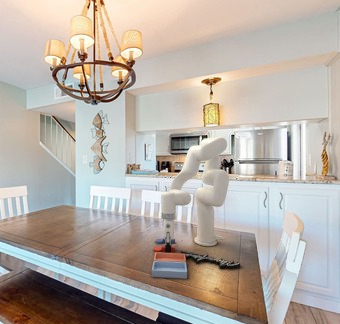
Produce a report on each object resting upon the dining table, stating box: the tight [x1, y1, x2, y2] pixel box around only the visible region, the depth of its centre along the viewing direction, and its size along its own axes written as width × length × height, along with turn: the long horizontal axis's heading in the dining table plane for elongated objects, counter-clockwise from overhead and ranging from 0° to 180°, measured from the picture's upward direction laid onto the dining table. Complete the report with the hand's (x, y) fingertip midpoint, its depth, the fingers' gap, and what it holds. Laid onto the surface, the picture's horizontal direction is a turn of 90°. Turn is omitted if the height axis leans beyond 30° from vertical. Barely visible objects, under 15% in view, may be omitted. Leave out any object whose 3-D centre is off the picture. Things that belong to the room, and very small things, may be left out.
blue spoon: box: [155, 237, 176, 245], centre depth 120 cm, size 11×4×2 cm, turn 85°
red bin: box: [153, 251, 187, 263], centre depth 97 cm, size 14×8×3 cm, turn 85°
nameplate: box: [180, 250, 241, 270], centre depth 98 cm, size 27×2×10 cm
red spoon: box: [153, 245, 176, 253], centre depth 109 cm, size 11×4×2 cm, turn 85°
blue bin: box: [151, 260, 188, 280], centre depth 88 cm, size 14×8×3 cm, turn 85°
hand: (168, 250), depth 109 cm, fingers open, 4 cm apart
